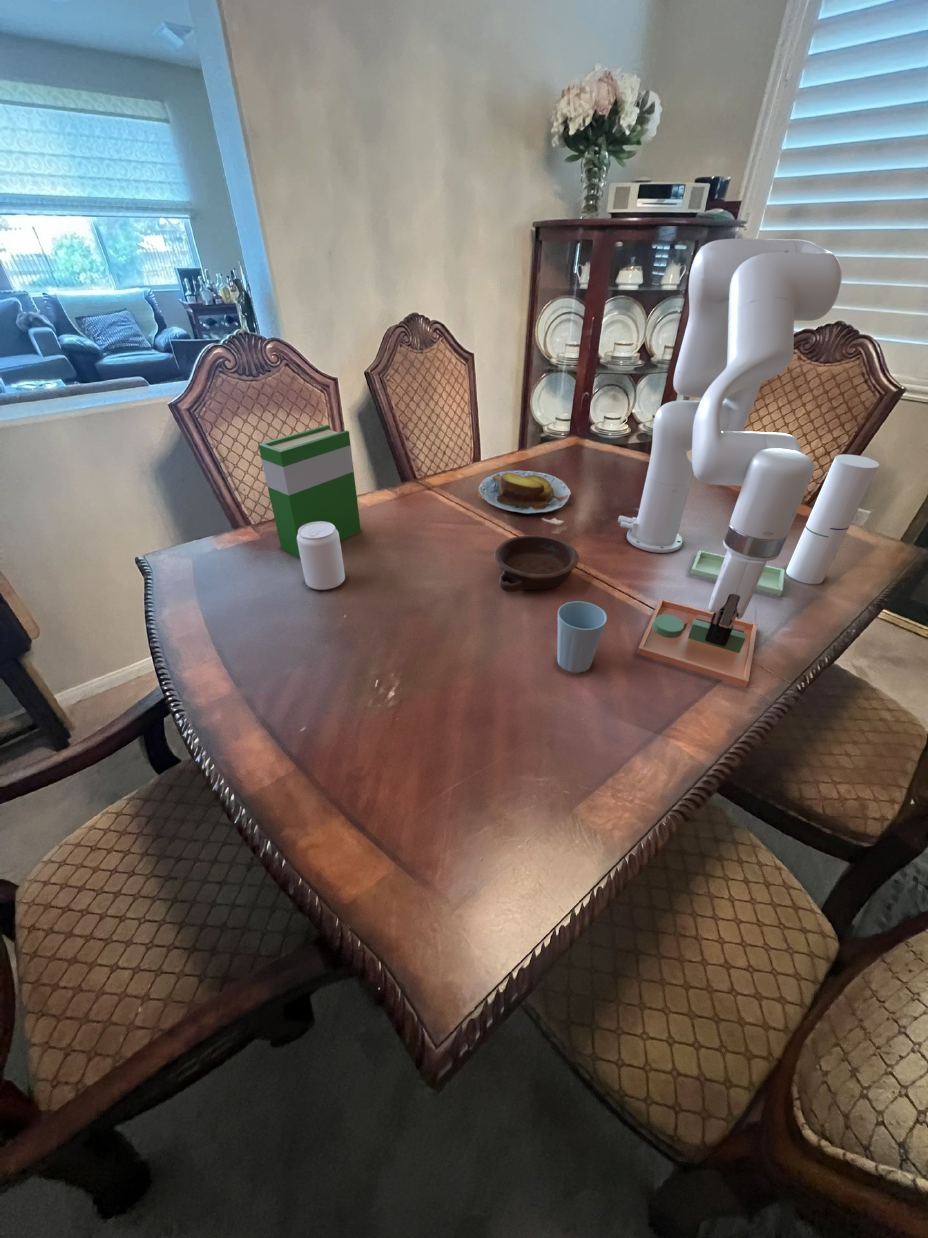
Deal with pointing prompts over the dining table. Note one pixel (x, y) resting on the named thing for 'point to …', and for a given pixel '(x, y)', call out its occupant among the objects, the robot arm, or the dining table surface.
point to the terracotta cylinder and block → (698, 617)
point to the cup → (579, 634)
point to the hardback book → (311, 483)
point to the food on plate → (524, 491)
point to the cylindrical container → (831, 517)
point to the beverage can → (321, 555)
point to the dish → (534, 562)
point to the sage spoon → (695, 632)
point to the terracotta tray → (699, 647)
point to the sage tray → (711, 564)
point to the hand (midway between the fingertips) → (716, 638)
